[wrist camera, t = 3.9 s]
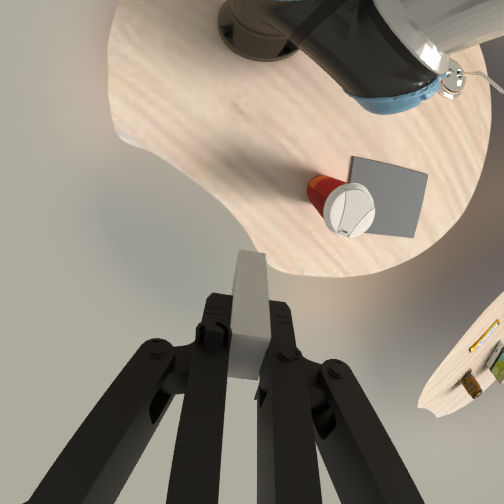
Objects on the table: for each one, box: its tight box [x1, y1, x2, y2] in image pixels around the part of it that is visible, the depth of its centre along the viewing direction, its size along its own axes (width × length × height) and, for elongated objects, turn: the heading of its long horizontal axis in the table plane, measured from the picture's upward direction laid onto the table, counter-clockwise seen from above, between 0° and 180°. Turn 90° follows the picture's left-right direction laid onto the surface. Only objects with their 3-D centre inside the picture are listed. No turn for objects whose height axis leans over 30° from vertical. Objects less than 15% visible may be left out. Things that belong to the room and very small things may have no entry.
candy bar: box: [471, 320, 499, 354], centre depth 73 cm, size 17×4×2 cm, turn 136°
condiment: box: [458, 368, 482, 399], centre depth 78 cm, size 7×8×12 cm
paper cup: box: [307, 176, 375, 237], centre depth 41 cm, size 8×8×14 cm
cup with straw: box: [436, 57, 504, 99], centre depth 30 cm, size 8×9×20 cm
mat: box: [349, 157, 428, 238], centre depth 49 cm, size 18×14×1 cm
